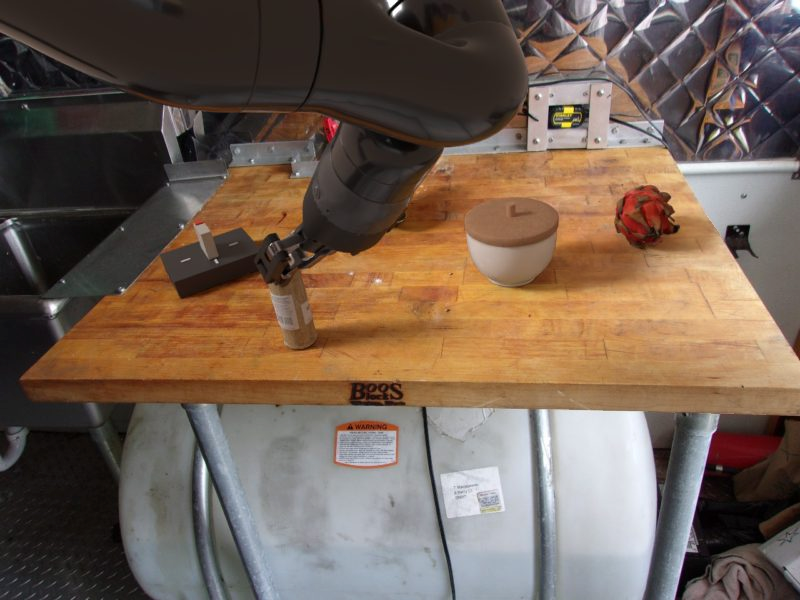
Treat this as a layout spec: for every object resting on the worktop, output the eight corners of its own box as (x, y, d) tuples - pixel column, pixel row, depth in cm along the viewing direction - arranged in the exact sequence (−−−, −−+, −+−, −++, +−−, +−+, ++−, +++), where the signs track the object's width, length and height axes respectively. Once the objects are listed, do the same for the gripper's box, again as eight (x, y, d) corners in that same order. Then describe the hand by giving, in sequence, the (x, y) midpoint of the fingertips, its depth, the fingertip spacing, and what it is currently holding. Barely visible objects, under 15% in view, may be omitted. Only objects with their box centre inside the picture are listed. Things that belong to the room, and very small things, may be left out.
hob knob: (219, 256, 92) (210, 229, 89) (209, 260, 91) (200, 233, 89) (211, 244, 96) (202, 218, 93) (201, 248, 95) (192, 221, 93)
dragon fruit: (635, 226, 95) (651, 274, 86) (594, 202, 92) (606, 249, 84) (676, 188, 89) (698, 235, 81) (634, 162, 87) (651, 207, 78)
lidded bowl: (550, 302, 78) (553, 228, 71) (458, 293, 82) (453, 222, 75) (560, 254, 87) (564, 185, 81) (477, 249, 91) (474, 182, 85)
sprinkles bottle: (325, 338, 76) (304, 248, 69) (296, 355, 74) (272, 265, 66) (304, 325, 79) (282, 237, 72) (276, 341, 77) (251, 253, 69)
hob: (180, 298, 89) (173, 281, 87) (165, 269, 97) (158, 253, 95) (267, 267, 94) (262, 250, 92) (245, 242, 102) (241, 226, 100)
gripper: (304, 264, 43) (271, 323, 57) (452, 199, 49) (389, 267, 63) (255, 177, 43) (235, 257, 58) (407, 124, 50) (355, 208, 64)
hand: (316, 262), depth 61 cm, fingers open, 8 cm apart
